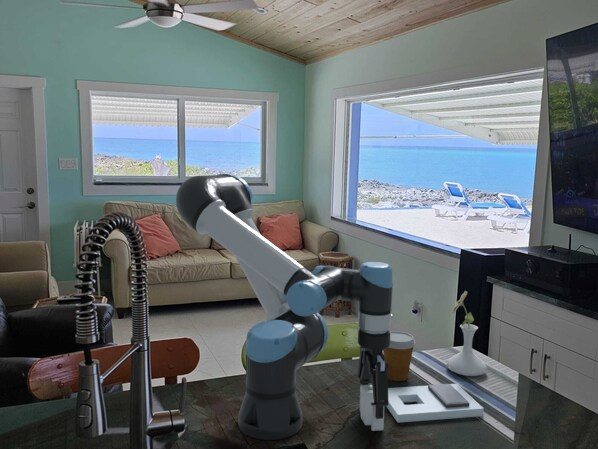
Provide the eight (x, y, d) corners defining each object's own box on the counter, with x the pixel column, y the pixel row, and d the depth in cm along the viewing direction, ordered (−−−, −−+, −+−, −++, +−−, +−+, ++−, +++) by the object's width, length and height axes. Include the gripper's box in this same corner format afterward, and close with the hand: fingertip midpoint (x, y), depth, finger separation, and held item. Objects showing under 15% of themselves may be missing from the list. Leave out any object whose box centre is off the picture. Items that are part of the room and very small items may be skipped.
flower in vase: (458, 360, 165) (463, 282, 161) (493, 372, 157) (499, 289, 153) (435, 372, 156) (440, 289, 153) (471, 385, 148) (476, 297, 144)
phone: (446, 407, 130) (446, 404, 130) (428, 388, 141) (428, 384, 141) (469, 406, 131) (469, 402, 131) (449, 386, 142) (449, 383, 142)
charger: (365, 425, 125) (366, 392, 124) (360, 416, 129) (361, 384, 128) (381, 424, 126) (382, 391, 125) (376, 415, 130) (377, 383, 129)
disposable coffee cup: (416, 384, 148) (418, 342, 146) (382, 383, 148) (383, 342, 146) (410, 370, 157) (412, 331, 156) (377, 369, 157) (379, 330, 156)
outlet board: (397, 422, 127) (398, 414, 126) (378, 395, 140) (379, 388, 140) (483, 416, 131) (483, 408, 130) (456, 390, 144) (457, 383, 144)
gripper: (406, 344, 115) (402, 442, 118) (375, 314, 136) (372, 397, 139) (373, 346, 113) (369, 445, 116) (346, 315, 134) (344, 399, 137)
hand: (371, 419), depth 128 cm, fingers open, 9 cm apart
